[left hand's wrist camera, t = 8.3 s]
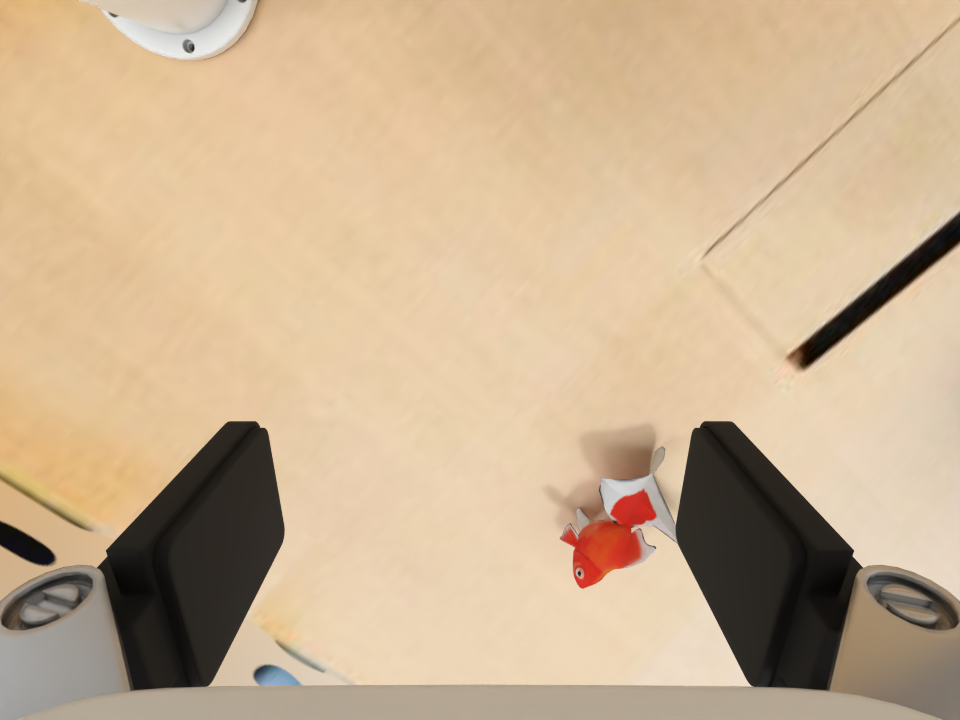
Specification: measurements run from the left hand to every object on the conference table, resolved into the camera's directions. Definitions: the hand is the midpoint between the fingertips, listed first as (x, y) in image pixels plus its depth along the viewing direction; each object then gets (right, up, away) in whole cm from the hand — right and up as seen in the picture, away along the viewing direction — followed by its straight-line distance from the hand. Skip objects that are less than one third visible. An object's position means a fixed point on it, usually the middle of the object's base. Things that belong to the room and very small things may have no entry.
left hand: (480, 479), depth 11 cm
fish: (+14, -11, +43) cm, 47 cm away
